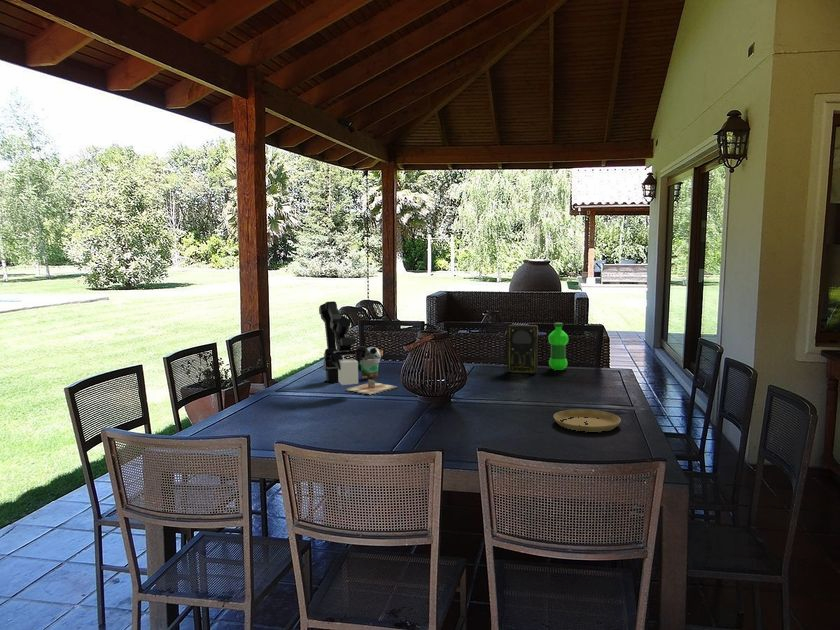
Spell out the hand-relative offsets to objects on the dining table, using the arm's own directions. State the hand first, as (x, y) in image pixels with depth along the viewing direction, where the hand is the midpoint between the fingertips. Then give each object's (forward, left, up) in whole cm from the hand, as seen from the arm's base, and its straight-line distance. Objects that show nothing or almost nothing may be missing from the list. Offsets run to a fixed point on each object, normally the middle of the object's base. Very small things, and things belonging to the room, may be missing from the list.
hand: (348, 368), depth 281 cm
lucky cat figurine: (-44, +56, -13) cm, 72 cm away
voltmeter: (+34, +93, -13) cm, 99 cm away
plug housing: (-1, +1, -7) cm, 7 cm away
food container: (-20, +36, -13) cm, 43 cm away
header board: (-2, +17, -13) cm, 21 cm away
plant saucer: (+103, +24, -13) cm, 106 cm away
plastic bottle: (+45, +109, -13) cm, 119 cm away
